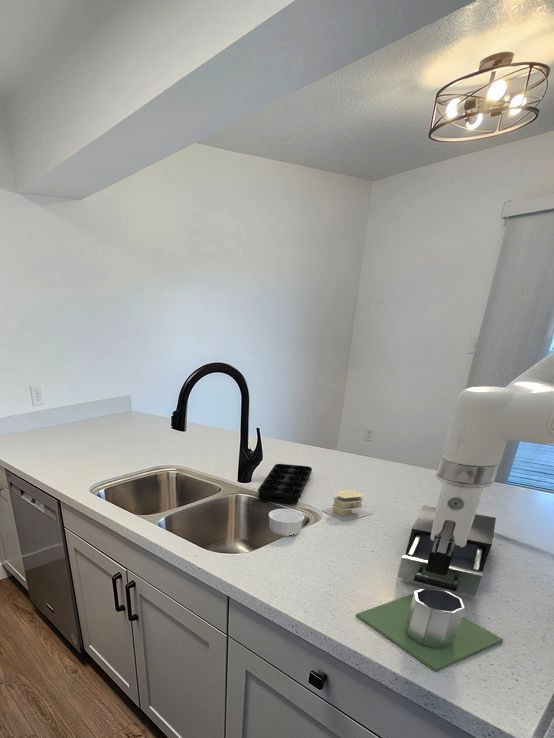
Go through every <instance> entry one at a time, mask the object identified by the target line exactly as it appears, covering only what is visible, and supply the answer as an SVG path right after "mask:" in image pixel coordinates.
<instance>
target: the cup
mask: <svg viewBox="0 0 554 738" xmlns="http://www.w3.org/2000/svg"><path fill="white" fill-rule="evenodd" d="M413 594H414V595H413V599H412V603H411V606H410V610H409V614H408V618H407V621H406V632H407V634H408V636H409V637H410V638H411V639H412V640H413V641H415V642H417V643H419V644H421V645H423V646H426V647H430V648H445V647H447V646H449V645H450V644H452V643H453V642H454V640H455V637H456V634H457V631H458V628H459V625H460V622H461V619H462V617H464V612H465V609H466V607H465V605H464V601H463V599H462V598H461V597H460V596H457V595H456V594H453V593H451V591H449V590H445V589H441V588H435V587H433V588H432V587H423V588H420V589H418V590H415V591H414V592H413Z"/></svg>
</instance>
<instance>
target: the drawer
mask: <svg viewBox="0 0 554 738" xmlns="http://www.w3.org/2000/svg"><path fill="white" fill-rule="evenodd" d="M434 543H435V540H434V541H432V540H431V536H430V535H425V534H419V533H418V534H417V536H416V538H415V540H414V543H413V545H412V547H411V549H410V551H409V553H408V555H406V554H405V555H404V554H403V555H402V557H401V560H400V565H399V569H398V573H397V576H396V578H399V579H401V580H402V579H403V580H406V581H407V580H408V581H410V582H414V583H418V584H422V585H427V586H431V587H433V588H437V589H441V590H446V591H448V592H453V593H458V594H461V595H465V596H470V597H473V598H476V596H477V593H478V590H479V587H480V585H481V581H482V579H483V574H484V573H483V572H481V571H478V570H479V565H480V559H481V554H482V549H483V546H480V545H475V544H470V543H466V545H465V546H464V547H460V546H458V545H456V544H454V547H453V550H452V552H454V553H453V556H452V559H451V563H450V566H449V569H448V572H447V575H445V576H444V575H440V574H436V573H432V572H428V571H426V570H425V569H426V565H427V562H428V558H429V555H430V551H431V549H432V547H433V546H434Z"/></svg>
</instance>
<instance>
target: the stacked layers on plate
mask: <svg viewBox="0 0 554 738" xmlns="http://www.w3.org/2000/svg"><path fill="white" fill-rule="evenodd" d="M334 496H335V497H333V498H332V500H334V502H333V504H331V506H332V507H329V508H325V509H321V512H323V513H325V514H327V515H330V516H332V517H334V518H336V519H339V520H341V521H343V522H349V521H352V520H356V519H359V518H362V517H366V516H371V515H372V514H373V513H372V512H369V511H366V510H364V509H362V508H363V504H362V502H364V498H363V497H365V494H364V493H363V492H361V491H360V492H359V491H355V490H352V489H342V490H340V491H338V492H335V493H334Z"/></svg>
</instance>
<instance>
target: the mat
mask: <svg viewBox="0 0 554 738" xmlns="http://www.w3.org/2000/svg"><path fill="white" fill-rule="evenodd" d="M413 595H414V593H411V594H407V595H405V596H402V597H400V598H397V599H394V600H391V601H389V602H386V603H383V604H381V605H377V606H375V607H372V608H369V609H366V610H364V611H360V612H358V613H356V614H355V617H356V618H358V619H359V620H360V621H362V622H363V623H365V625H368V626H369V627H370V628H372V629H373V630H374V631H376V632H377V633H379V634H381V635H382V636H383V637H385V638H386V639H388V641H390V642H392V643H393V644H395V645H396V646H397V647H399V648H401V649H402V650H403V651H405V653H408V654H409V655H410V656H411V657H413V658H415V659H416V660H418V661H419V662H420V663H422V664H423V665H425V666H426V667H428V668H429V669H430V670H431V671H433V672H434V673H435V672H438V671H440V670H442V669H445V668H447V667H449V666H451V665H453V664H456V663H458V662H460V661H463V660H465V659H467V658H469V657H471V656H474V655H477V654H478V653H482V652H483V651H485V650H487V649H489V648H492V647H494V646H496V645H499V644H501V643H503V642H504V638H502V637H500V636H499V635H497V634H495V633H493V632H491V631H490V630H488V629H486V628H484V627H482V626H480V625H479V624H477V623H475V622H473V621H472V620H470V619H468V618H466V617H465V616H462V619H461V622H460V625H459V628H458V631H457V634H456V637H455V640H454V642H453V643H452V644H450V645H449V646H447V647H445V648H430V647H426V646H423V645H421V644H419V643H417V642H415V641H413V640H412V639H411V638H410V637H409V636H408V634H407V632H406V621H407V618H408V614H409V610H410V606H411V603H412V599H413Z"/></svg>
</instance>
